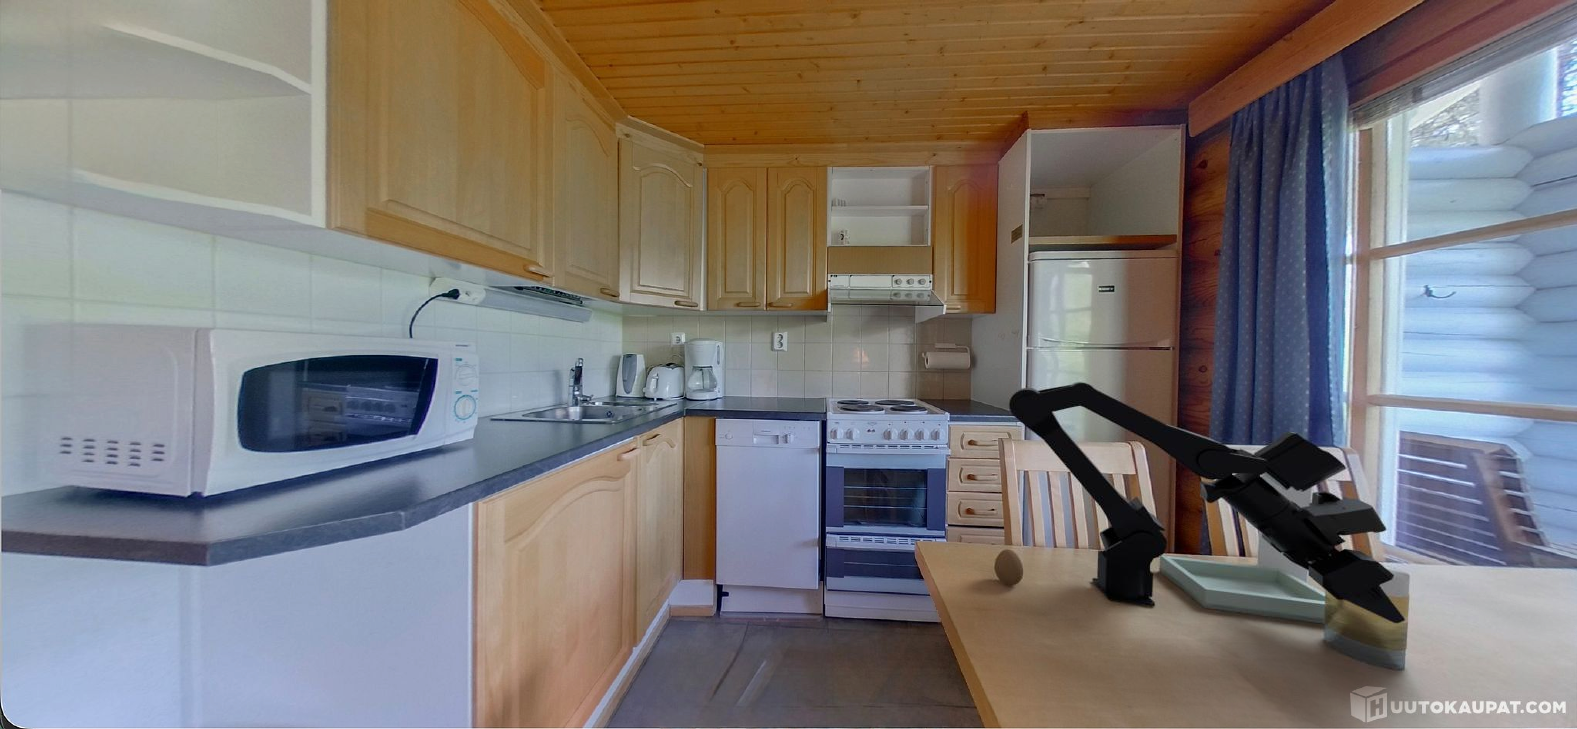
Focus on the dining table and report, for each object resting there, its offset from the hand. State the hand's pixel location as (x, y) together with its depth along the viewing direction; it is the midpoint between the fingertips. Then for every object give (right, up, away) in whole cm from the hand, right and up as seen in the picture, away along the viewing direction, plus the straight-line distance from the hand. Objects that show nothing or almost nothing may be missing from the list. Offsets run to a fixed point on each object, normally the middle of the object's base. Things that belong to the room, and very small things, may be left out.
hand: (1381, 607), depth 57 cm
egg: (-42, -6, +17) cm, 45 cm away
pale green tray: (-3, -6, +14) cm, 16 cm away
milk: (+12, -7, +22) cm, 26 cm away
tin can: (-1, -7, +1) cm, 7 cm away
